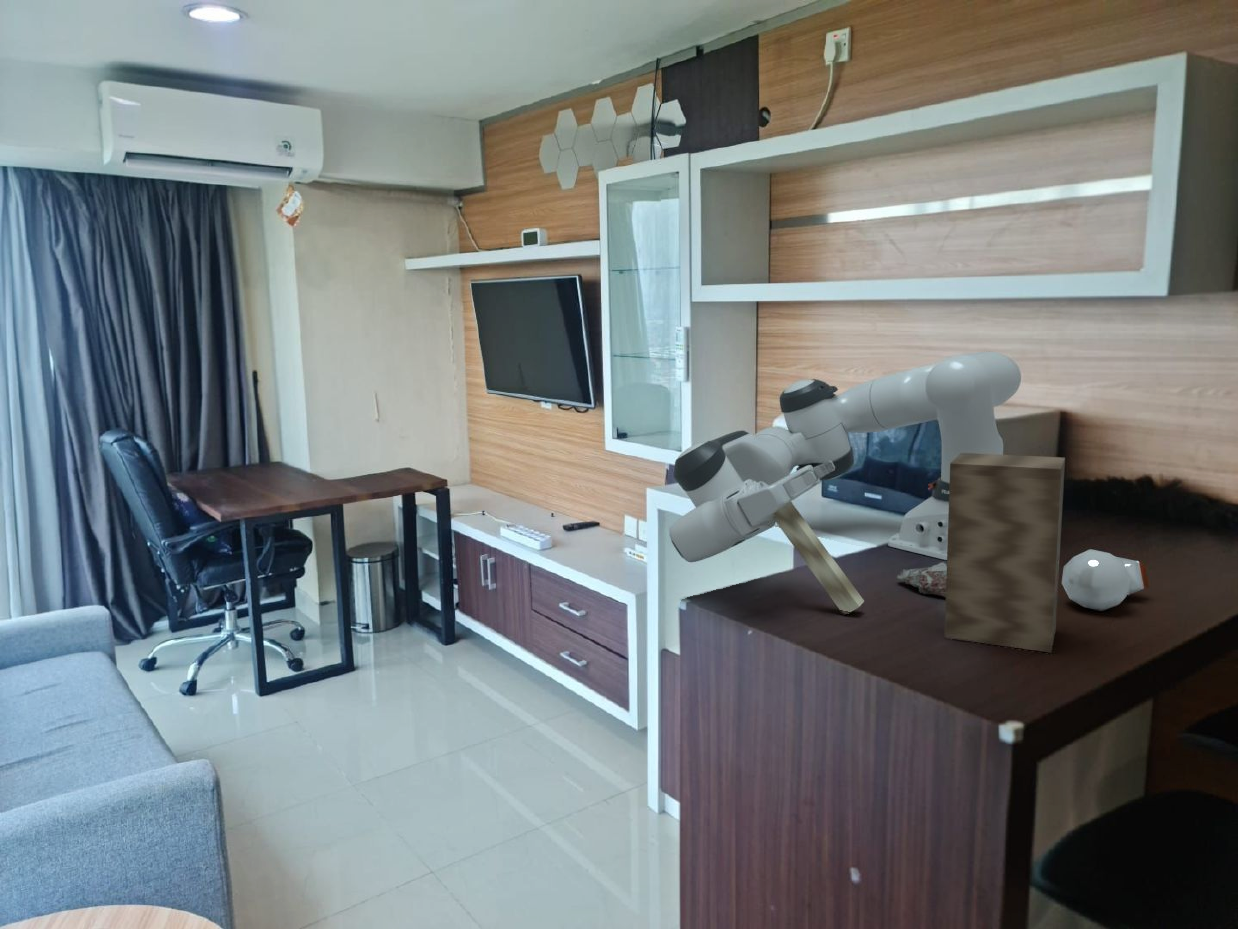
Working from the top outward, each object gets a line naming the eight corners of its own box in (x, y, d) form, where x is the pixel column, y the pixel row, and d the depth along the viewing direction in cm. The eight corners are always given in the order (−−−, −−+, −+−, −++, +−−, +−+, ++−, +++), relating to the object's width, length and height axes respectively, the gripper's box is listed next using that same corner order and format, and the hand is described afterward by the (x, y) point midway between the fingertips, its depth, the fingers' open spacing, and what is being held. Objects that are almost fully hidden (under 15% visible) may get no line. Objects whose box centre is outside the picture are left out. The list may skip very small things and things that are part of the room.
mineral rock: (890, 585, 151) (891, 561, 151) (924, 578, 155) (925, 554, 154) (957, 610, 138) (957, 584, 138) (992, 601, 142) (993, 575, 141)
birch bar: (762, 503, 140) (775, 492, 139) (768, 499, 143) (782, 489, 141) (844, 616, 137) (859, 606, 135) (849, 610, 139) (864, 601, 138)
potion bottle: (1065, 621, 135) (1116, 612, 143) (1122, 599, 128) (1171, 591, 136) (1038, 566, 139) (1089, 561, 147) (1092, 541, 131) (1142, 537, 140)
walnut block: (944, 638, 126) (950, 463, 122) (955, 617, 134) (961, 452, 130) (1051, 654, 119) (1061, 469, 115) (1055, 630, 128) (1065, 457, 123)
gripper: (782, 510, 151) (850, 476, 144) (739, 538, 134) (815, 500, 127) (764, 479, 152) (832, 442, 145) (720, 502, 134) (794, 463, 127)
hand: (824, 470), depth 135 cm, fingers open, 8 cm apart
